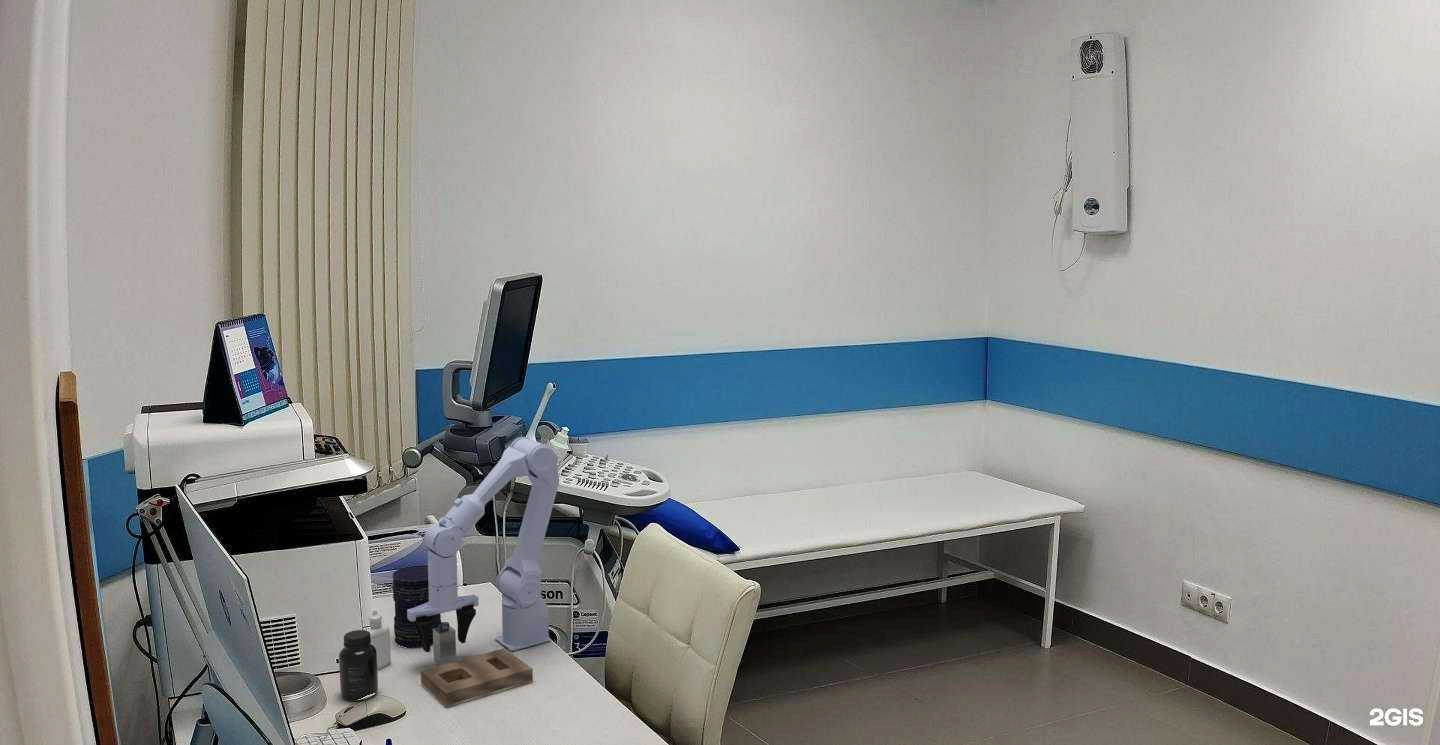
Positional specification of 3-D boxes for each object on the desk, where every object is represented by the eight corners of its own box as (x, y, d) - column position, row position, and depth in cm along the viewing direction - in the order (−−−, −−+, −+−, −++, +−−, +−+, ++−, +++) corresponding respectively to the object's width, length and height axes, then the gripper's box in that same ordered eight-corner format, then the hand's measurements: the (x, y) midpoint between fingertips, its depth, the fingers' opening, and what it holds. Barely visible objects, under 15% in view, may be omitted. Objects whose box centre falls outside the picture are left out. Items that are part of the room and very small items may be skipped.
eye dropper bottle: (392, 668, 209) (390, 611, 207) (363, 673, 207) (361, 615, 205) (389, 659, 213) (387, 604, 211) (361, 664, 211) (359, 608, 209)
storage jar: (429, 650, 218) (427, 582, 216) (385, 646, 219) (383, 579, 217) (449, 632, 227) (447, 567, 225) (407, 628, 229) (405, 563, 227)
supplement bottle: (385, 689, 200) (383, 630, 198) (362, 704, 194) (360, 644, 192) (356, 683, 202) (354, 625, 200) (332, 698, 196) (330, 638, 194)
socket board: (504, 660, 213) (504, 648, 213) (532, 681, 204) (532, 668, 204) (421, 684, 202) (420, 670, 202) (446, 707, 193) (446, 693, 193)
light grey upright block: (449, 656, 215) (448, 619, 214) (456, 662, 212) (455, 624, 211) (433, 660, 213) (432, 623, 212) (440, 666, 210) (439, 628, 209)
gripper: (467, 570, 218) (468, 631, 220) (400, 584, 209) (402, 647, 211) (482, 579, 212) (483, 642, 214) (414, 594, 203) (416, 659, 205)
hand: (444, 646), depth 212 cm, fingers open, 7 cm apart
